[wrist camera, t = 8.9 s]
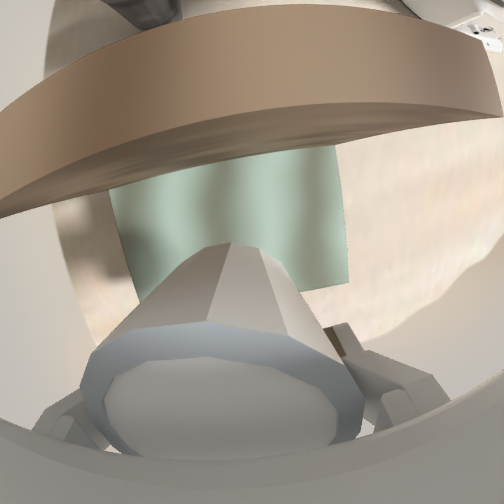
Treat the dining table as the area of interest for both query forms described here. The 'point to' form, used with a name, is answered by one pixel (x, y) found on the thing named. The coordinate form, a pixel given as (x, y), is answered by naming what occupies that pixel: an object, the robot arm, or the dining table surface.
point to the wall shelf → (236, 128)
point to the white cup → (221, 367)
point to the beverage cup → (147, 12)
